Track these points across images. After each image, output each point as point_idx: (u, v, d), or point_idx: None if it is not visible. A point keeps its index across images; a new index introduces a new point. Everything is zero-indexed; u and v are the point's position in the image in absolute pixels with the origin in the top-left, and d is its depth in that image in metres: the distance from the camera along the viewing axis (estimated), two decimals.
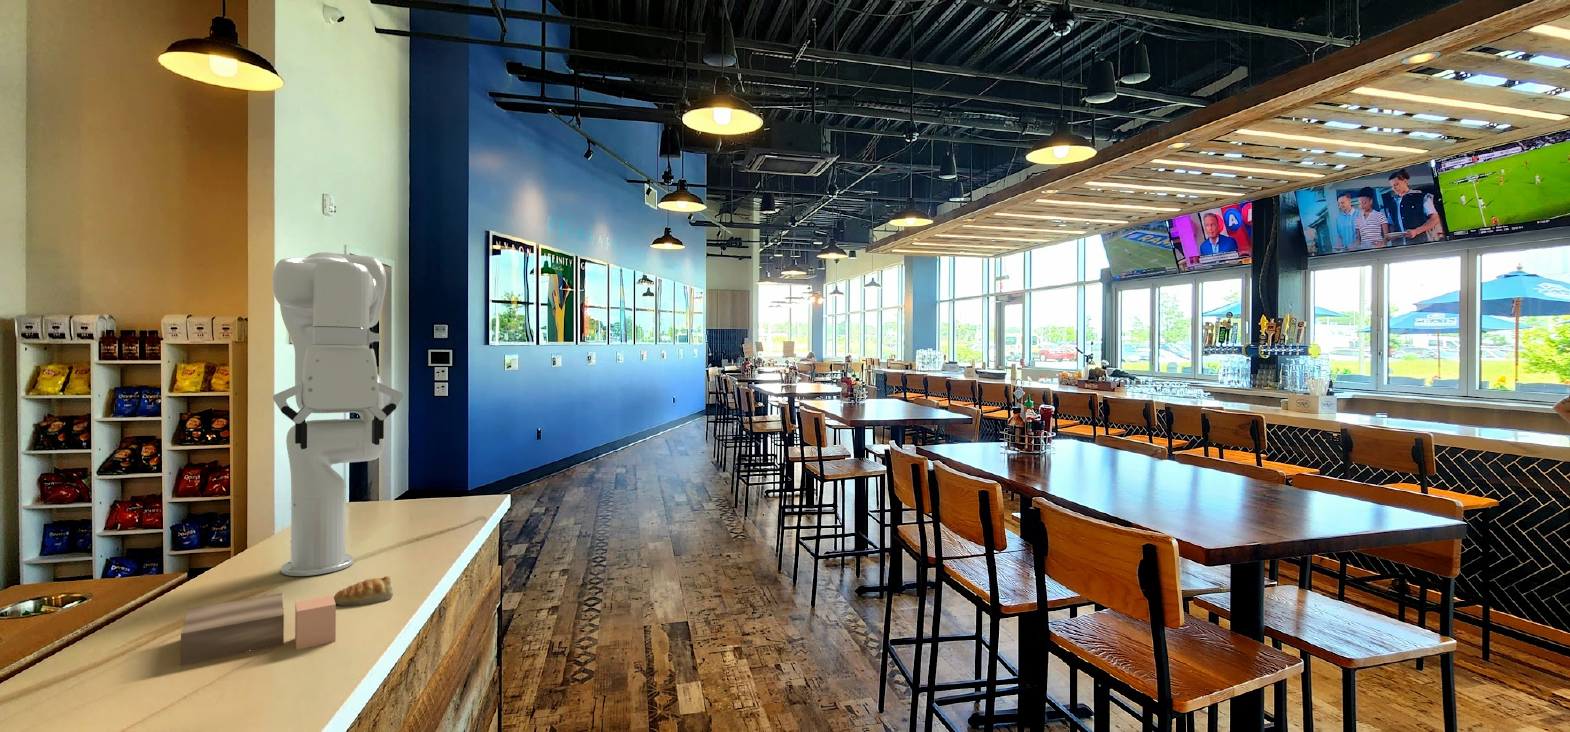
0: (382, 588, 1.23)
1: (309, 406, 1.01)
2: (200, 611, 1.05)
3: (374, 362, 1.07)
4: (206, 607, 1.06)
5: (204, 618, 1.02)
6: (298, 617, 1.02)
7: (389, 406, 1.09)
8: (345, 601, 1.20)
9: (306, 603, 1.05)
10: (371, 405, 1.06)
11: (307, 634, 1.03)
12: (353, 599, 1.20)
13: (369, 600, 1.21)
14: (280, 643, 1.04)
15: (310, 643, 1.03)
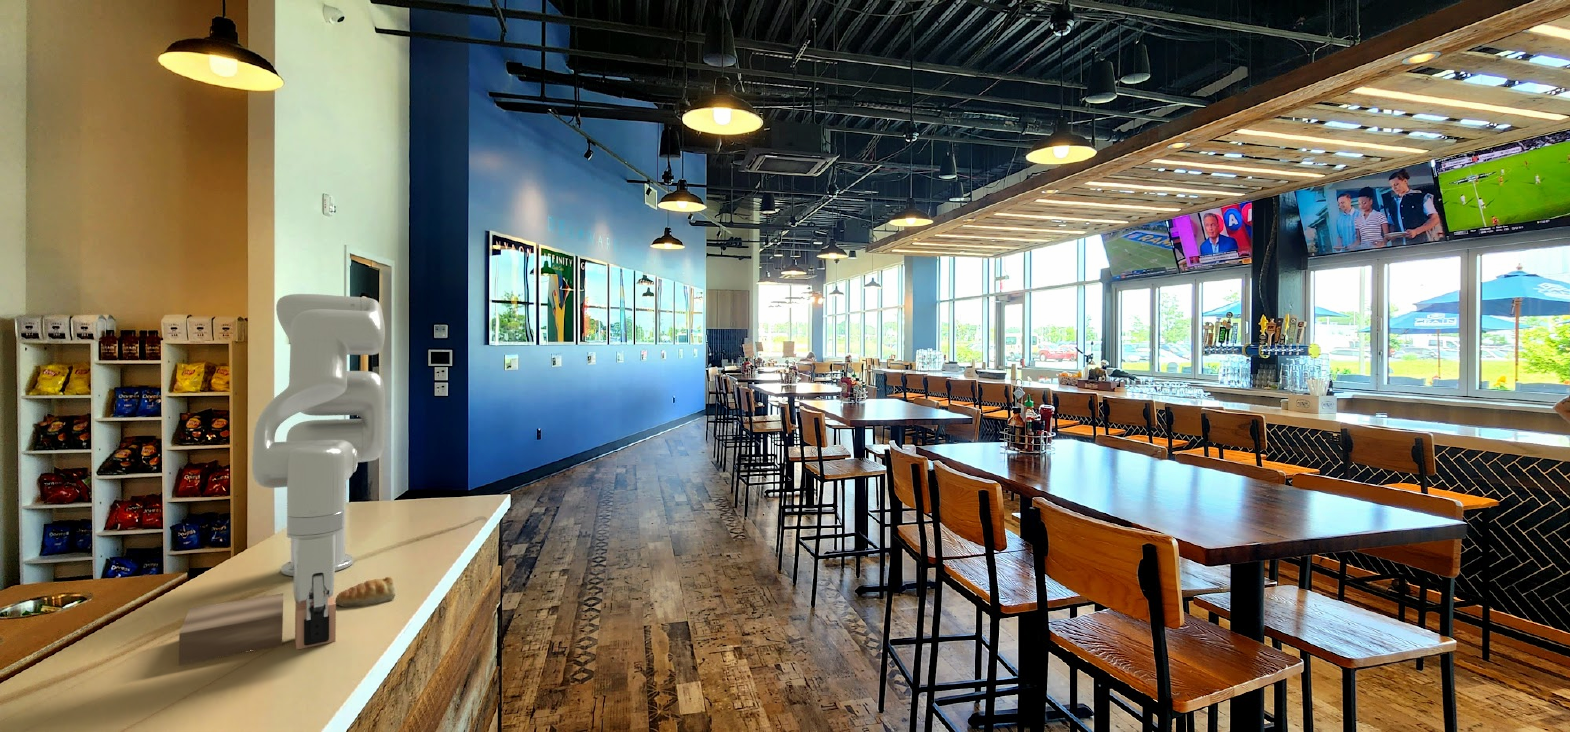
0: (384, 588, 1.22)
1: (332, 593, 1.03)
2: (201, 611, 1.05)
3: None
4: (207, 607, 1.06)
5: (204, 618, 1.02)
6: (298, 617, 1.02)
7: None
8: (348, 602, 1.19)
9: None
10: None
11: None
12: (355, 600, 1.20)
13: (372, 601, 1.21)
14: (278, 644, 1.03)
15: None
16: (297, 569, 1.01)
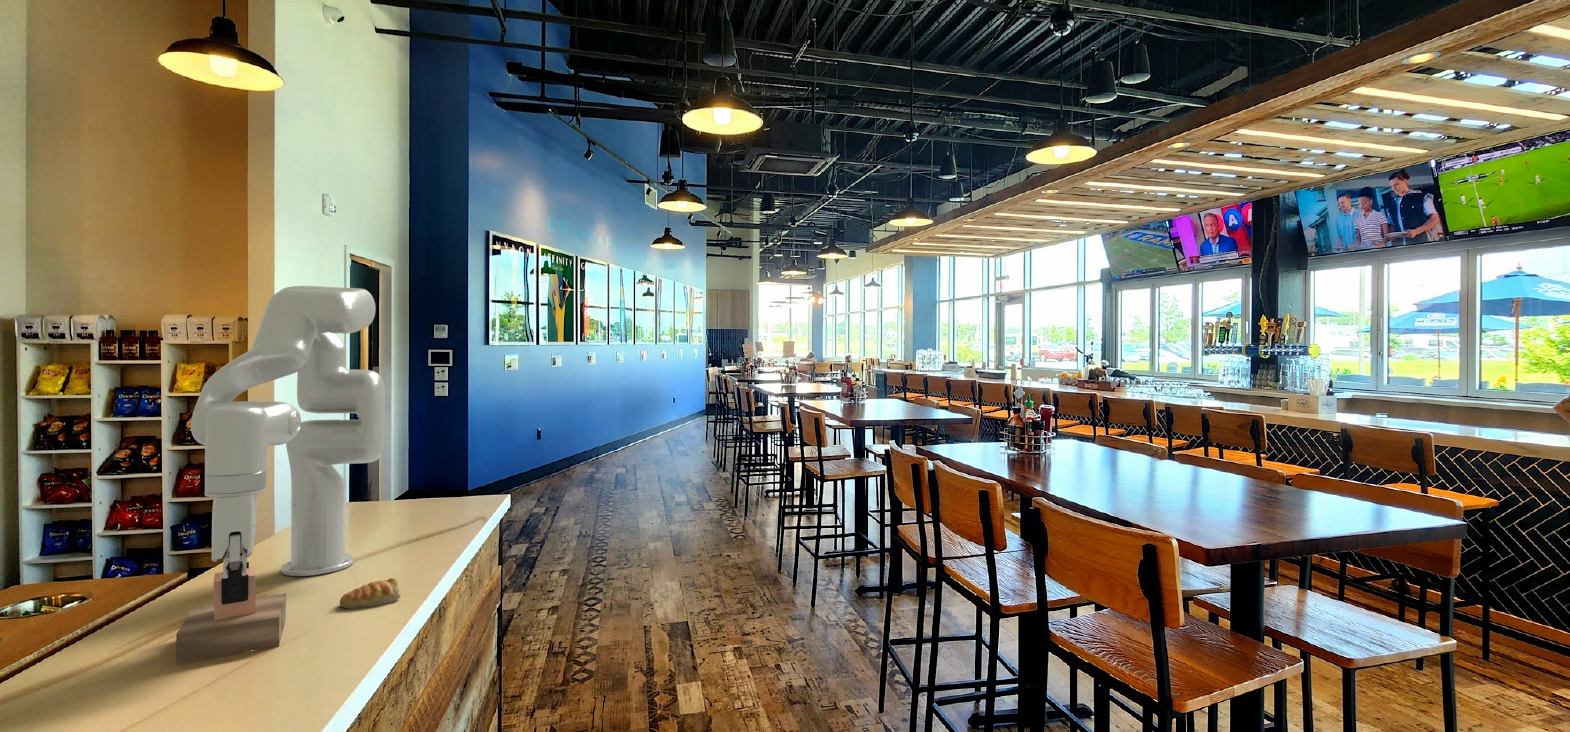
0: (390, 589, 1.22)
1: (251, 553, 1.03)
2: (203, 610, 1.05)
3: None
4: (210, 606, 1.07)
5: (204, 617, 1.02)
6: (215, 588, 1.01)
7: None
8: (353, 604, 1.18)
9: None
10: None
11: (225, 604, 1.02)
12: (361, 602, 1.19)
13: (377, 602, 1.20)
14: (275, 645, 1.03)
15: (228, 614, 1.02)
16: (213, 527, 1.00)
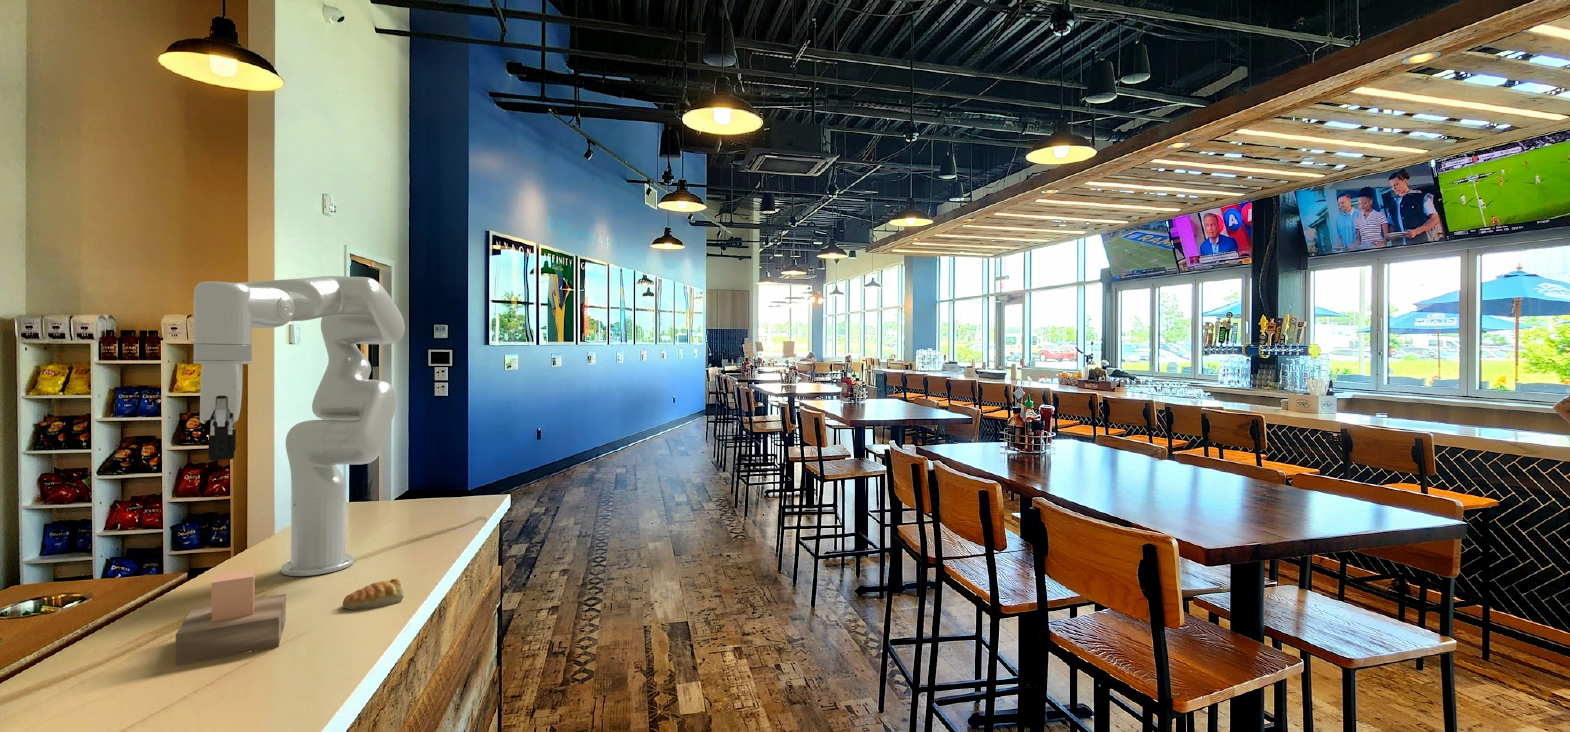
0: (393, 590, 1.22)
1: (237, 418, 1.10)
2: (202, 610, 1.05)
3: None
4: (210, 606, 1.07)
5: (204, 618, 1.02)
6: (213, 588, 1.01)
7: None
8: (357, 605, 1.18)
9: (224, 575, 1.04)
10: None
11: (223, 605, 1.02)
12: (365, 603, 1.18)
13: (381, 603, 1.20)
14: (275, 646, 1.03)
15: (226, 615, 1.02)
16: (201, 390, 1.07)
